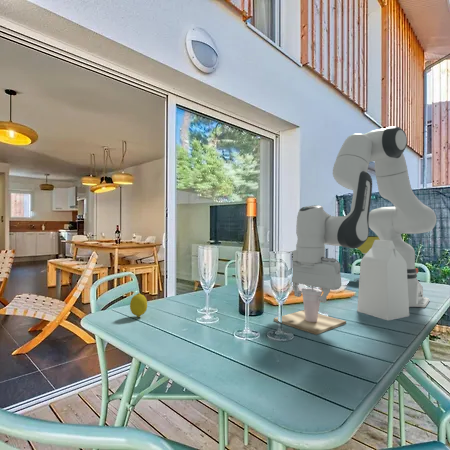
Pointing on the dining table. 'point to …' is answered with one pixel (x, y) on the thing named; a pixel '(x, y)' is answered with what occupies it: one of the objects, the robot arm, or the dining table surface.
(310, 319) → the smoothie
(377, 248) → the milk
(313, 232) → the robot arm
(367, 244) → the cocktail glass
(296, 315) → the oak board
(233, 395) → the dining table surface
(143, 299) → the lemon
